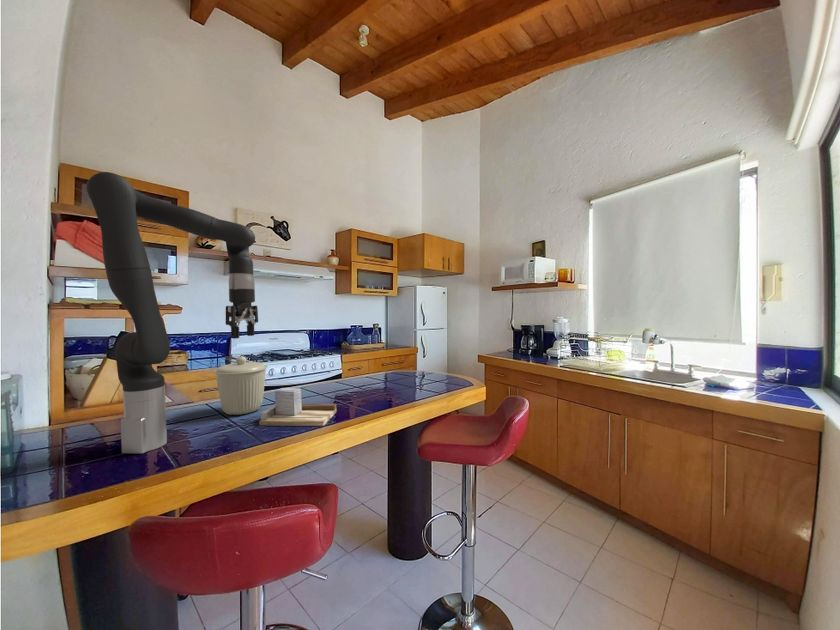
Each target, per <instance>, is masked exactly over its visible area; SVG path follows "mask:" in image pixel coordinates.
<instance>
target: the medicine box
mask: <svg viewBox="0 0 840 630" xmlns="http://www.w3.org/2000/svg"><path fill="white" fill-rule="evenodd" d="M274 398H275V400H274V402H275V403H274V404H275V405H276V414H280V415H294V416H295V415H297V414H299V413H300V412H302V405H301V404H302V389H301V388H295V387H281V388H279V389H277V390H274Z"/></svg>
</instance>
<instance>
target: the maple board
mask: <svg viewBox="0 0 840 630" xmlns="http://www.w3.org/2000/svg"><path fill="white" fill-rule="evenodd" d="M336 413H337V408H336V409H335V410H302V412H300V413H299V414H297V415H295V416H294V415H280V414H275V415H273V416H272V417H270V418H269V419H267V420H261V419H260V420H259V421H258V422H259V426H263V427H264V426H267V427H268V426H269V427H270V426H275V427H276V426H277V427H278V426H280V427H281V426H283V427H284V426H285V427H286V426H287V427H288V426H289V427H290V426H292V427H294V426H296V427H299V426H300V427H301V426H304V427H305V426H306V427H307V426H309V427H314V426H315V427H324V426H325V425H326V424H327V423H328V422H329V421H330V419H331V418H333V416H334V415H335V414H336Z"/></svg>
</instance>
